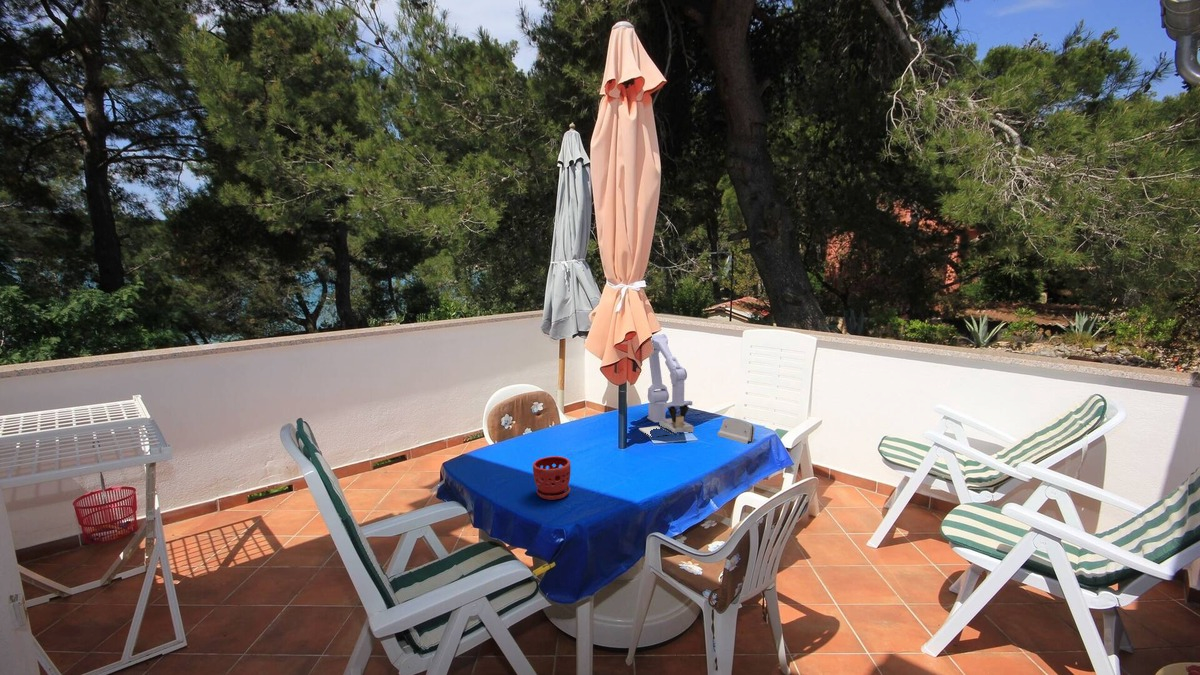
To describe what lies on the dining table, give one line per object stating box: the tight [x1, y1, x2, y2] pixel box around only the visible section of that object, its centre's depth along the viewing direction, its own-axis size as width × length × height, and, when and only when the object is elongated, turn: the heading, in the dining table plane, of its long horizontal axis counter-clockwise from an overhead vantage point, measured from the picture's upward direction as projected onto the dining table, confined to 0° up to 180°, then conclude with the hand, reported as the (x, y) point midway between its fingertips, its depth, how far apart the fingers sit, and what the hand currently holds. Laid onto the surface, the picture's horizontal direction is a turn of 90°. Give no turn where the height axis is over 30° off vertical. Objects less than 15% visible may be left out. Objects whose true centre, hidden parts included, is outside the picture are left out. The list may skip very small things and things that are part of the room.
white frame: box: [658, 417, 694, 433], centre depth 268 cm, size 16×10×3 cm, turn 21°
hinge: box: [717, 417, 756, 445], centre depth 253 cm, size 17×5×10 cm, turn 41°
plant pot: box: [532, 455, 572, 501], centre depth 193 cm, size 13×13×12 cm
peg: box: [672, 414, 685, 426], centre depth 266 cm, size 4×4×7 cm
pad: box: [638, 425, 661, 438], centre depth 263 cm, size 14×10×1 cm
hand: (678, 421), depth 266 cm, fingers closed on peg, 4 cm apart
